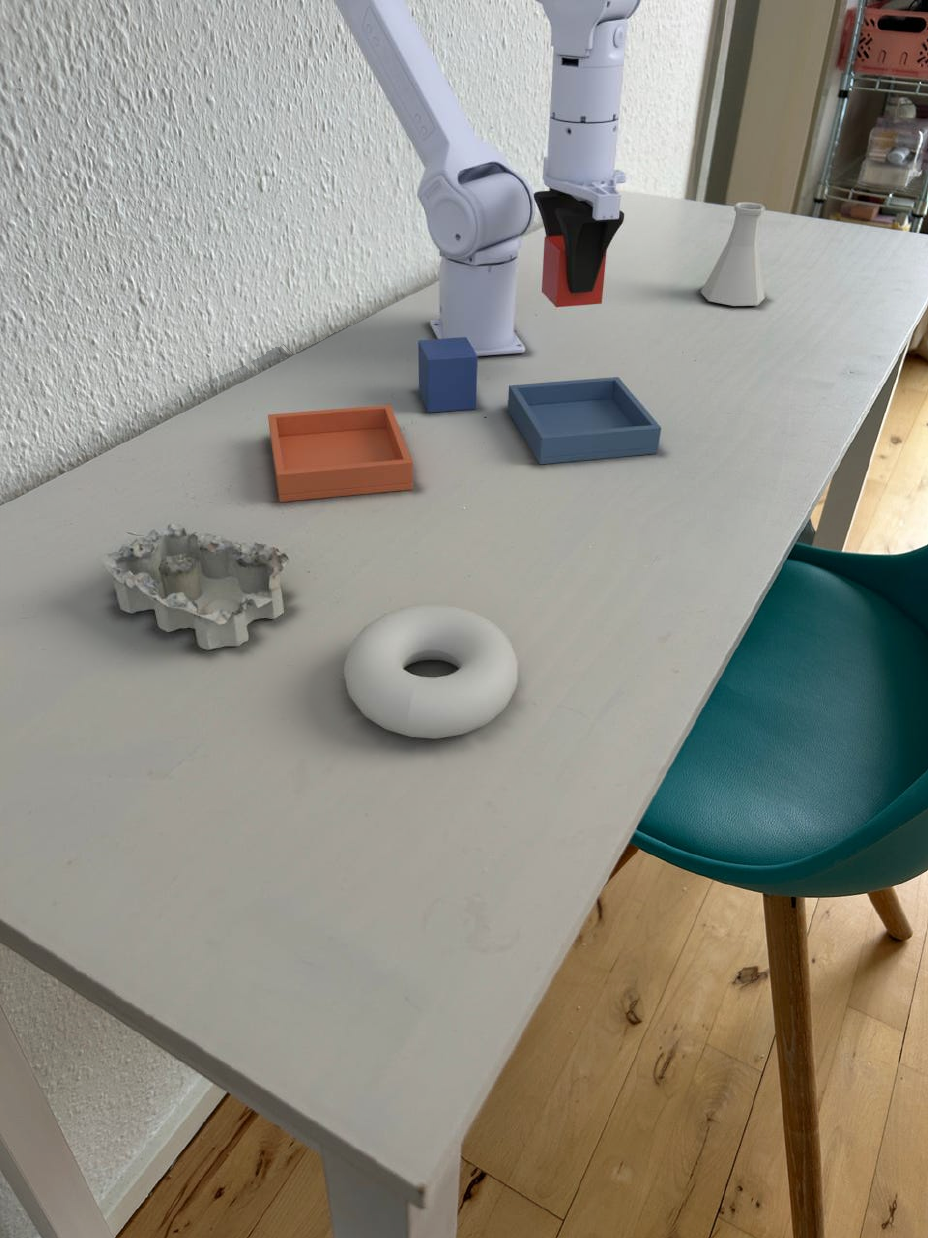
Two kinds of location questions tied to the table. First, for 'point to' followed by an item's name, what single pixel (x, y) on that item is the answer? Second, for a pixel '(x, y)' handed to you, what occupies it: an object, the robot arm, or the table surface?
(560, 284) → the red block
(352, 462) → the orange tray
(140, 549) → the egg carton
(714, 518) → the table surface
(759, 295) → the flask
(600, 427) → the blue tray
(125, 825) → the table surface
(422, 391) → the blue block
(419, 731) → the donut
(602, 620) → the table surface
